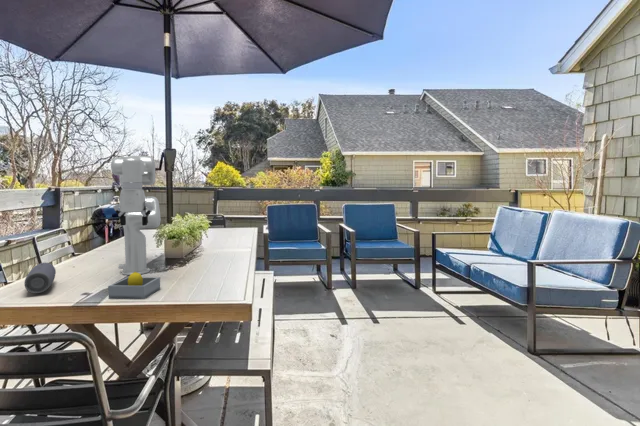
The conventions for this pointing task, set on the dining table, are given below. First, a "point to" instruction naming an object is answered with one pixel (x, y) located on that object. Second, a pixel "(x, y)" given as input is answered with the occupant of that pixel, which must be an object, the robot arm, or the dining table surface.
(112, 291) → the grey shallow tray
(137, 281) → the lemon
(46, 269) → the bluetooth speaker
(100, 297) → the dining table surface
